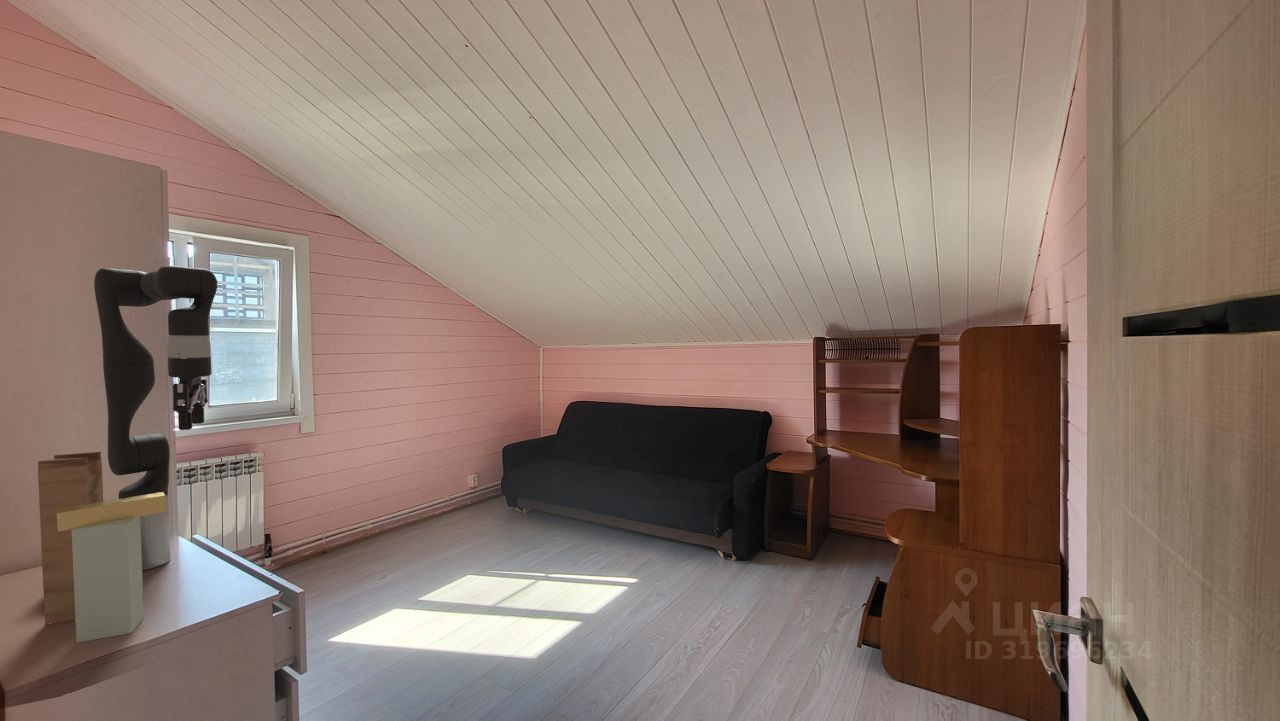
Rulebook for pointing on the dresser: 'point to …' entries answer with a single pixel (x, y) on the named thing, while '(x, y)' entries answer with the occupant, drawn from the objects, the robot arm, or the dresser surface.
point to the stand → (61, 488)
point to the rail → (110, 511)
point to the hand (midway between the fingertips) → (192, 426)
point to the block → (107, 579)
